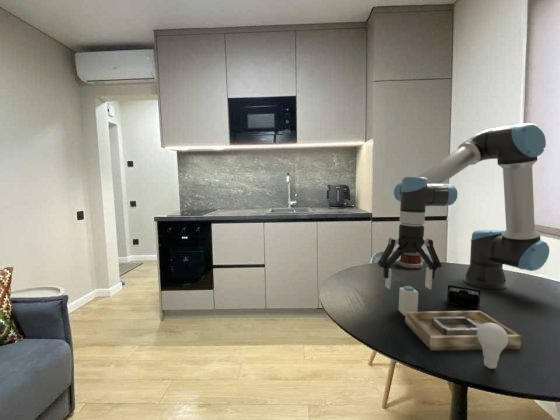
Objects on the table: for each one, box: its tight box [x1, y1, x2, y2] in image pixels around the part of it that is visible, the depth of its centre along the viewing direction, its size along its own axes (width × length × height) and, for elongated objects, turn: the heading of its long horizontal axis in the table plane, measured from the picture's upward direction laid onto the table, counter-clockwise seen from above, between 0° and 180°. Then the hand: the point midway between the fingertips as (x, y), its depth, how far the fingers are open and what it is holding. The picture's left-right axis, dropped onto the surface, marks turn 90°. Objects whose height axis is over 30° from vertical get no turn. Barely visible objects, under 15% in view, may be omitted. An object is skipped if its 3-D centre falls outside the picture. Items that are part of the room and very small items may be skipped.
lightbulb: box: [477, 323, 508, 370], centre depth 74 cm, size 6×6×11 cm
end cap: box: [446, 284, 482, 311], centre depth 111 cm, size 10×7×7 cm
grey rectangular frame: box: [431, 316, 480, 336], centre depth 91 cm, size 11×8×2 cm
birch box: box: [404, 310, 522, 351], centre depth 90 cm, size 24×16×4 cm, turn 92°
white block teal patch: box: [398, 285, 419, 316], centre depth 105 cm, size 4×4×9 cm
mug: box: [397, 252, 424, 271], centre depth 160 cm, size 12×14×15 cm
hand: (408, 287), depth 104 cm, fingers open, 13 cm apart
